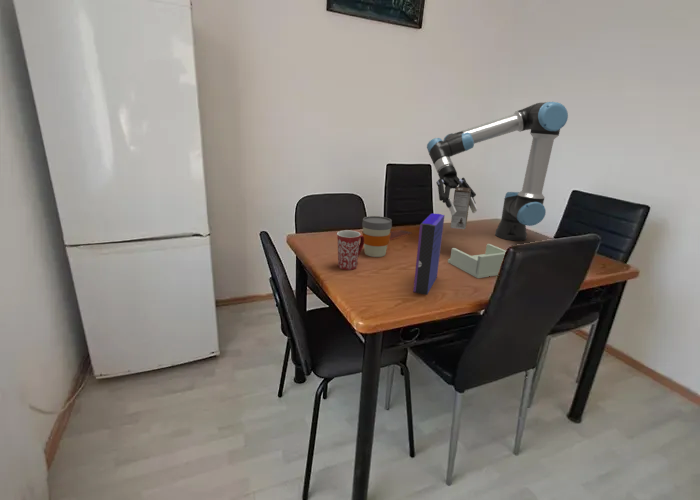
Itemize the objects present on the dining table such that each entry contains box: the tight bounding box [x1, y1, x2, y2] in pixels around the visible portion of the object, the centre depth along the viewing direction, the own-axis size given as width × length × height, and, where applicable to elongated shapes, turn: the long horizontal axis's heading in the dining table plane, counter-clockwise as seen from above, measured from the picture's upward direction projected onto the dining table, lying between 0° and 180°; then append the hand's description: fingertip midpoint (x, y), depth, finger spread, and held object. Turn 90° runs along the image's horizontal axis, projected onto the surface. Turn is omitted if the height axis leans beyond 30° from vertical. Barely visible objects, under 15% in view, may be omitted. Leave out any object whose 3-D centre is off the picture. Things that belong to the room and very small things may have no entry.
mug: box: [336, 229, 364, 271], centre depth 154 cm, size 13×9×14 cm
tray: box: [447, 243, 507, 279], centre depth 159 cm, size 20×18×8 cm
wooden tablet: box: [389, 229, 413, 242], centre depth 197 cm, size 27×10×2 cm, turn 133°
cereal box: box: [412, 213, 445, 296], centre depth 138 cm, size 17×5×24 cm, turn 157°
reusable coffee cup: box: [361, 215, 393, 258], centre depth 168 cm, size 13×13×15 cm
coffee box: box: [450, 186, 472, 230], centre depth 168 cm, size 9×6×16 cm
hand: (464, 212), depth 166 cm, fingers closed on coffee box, 10 cm apart
